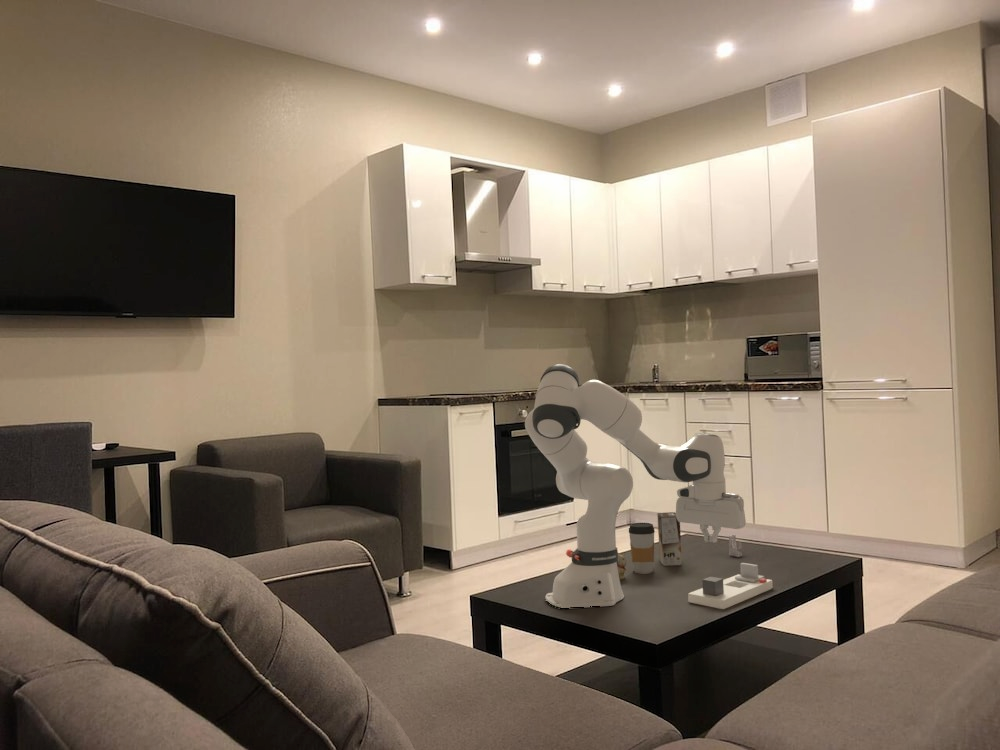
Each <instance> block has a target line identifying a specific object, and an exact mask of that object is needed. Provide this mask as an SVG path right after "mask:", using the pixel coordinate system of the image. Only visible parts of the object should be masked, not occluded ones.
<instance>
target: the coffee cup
mask: <svg viewBox="0 0 1000 750" xmlns="http://www.w3.org/2000/svg"><path fill="white" fill-rule="evenodd" d="M655 532H656V531H655V527H654V524H653V523H650V522H633V523H631V524H629V528H628V533H629V541H630V542H629V546H630V554H631V563H632V567H633V568H632V569H633V571H634V573H636V574H651V573H653V571H654V570H655V569H654V562H655Z"/></svg>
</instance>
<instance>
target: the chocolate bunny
mask: <svg viewBox="0 0 1000 750" xmlns="http://www.w3.org/2000/svg"><path fill="white" fill-rule="evenodd" d="M627 562H628V561H627V558H626V557H625V556H624V555H622V554H620V553H619V552H618V575H619V580H620V581H621V580H624V579H625V573H626V572H625V571H626V570H627V568H626V565H627Z"/></svg>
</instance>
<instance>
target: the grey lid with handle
mask: <svg viewBox="0 0 1000 750" xmlns="http://www.w3.org/2000/svg"><path fill="white" fill-rule="evenodd" d="M739 564H740V565H739V566H740V574H739V576H736V577H735V579H737V580H743V581H748V582H756V581H758V580H760V579H762V578H764V579H765V575H761V574H759V565H758V564H753V563H746V562H741V563H739Z"/></svg>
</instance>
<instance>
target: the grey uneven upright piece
mask: <svg viewBox="0 0 1000 750" xmlns="http://www.w3.org/2000/svg"><path fill="white" fill-rule="evenodd" d="M740 545H741V542H737V540H736V534H732V535H729V536H728V546H729V547H728V553H729V554H728V555H729V556H731V557H736V558H738V557H741V556H742V552H741V551H738V550H740V549H742V546H740Z"/></svg>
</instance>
